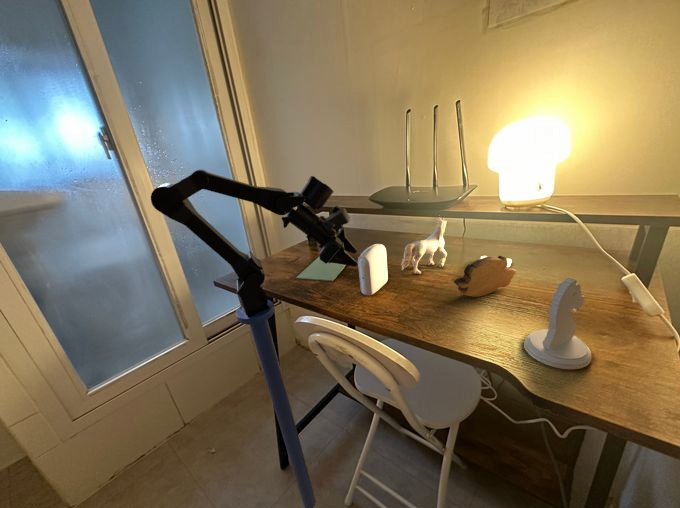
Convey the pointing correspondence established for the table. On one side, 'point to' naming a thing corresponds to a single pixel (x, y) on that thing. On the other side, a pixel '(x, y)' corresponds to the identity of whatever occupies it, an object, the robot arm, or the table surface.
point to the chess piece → (561, 332)
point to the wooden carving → (485, 276)
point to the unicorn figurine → (426, 248)
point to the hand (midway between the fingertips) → (356, 258)
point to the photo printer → (372, 269)
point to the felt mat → (321, 271)
